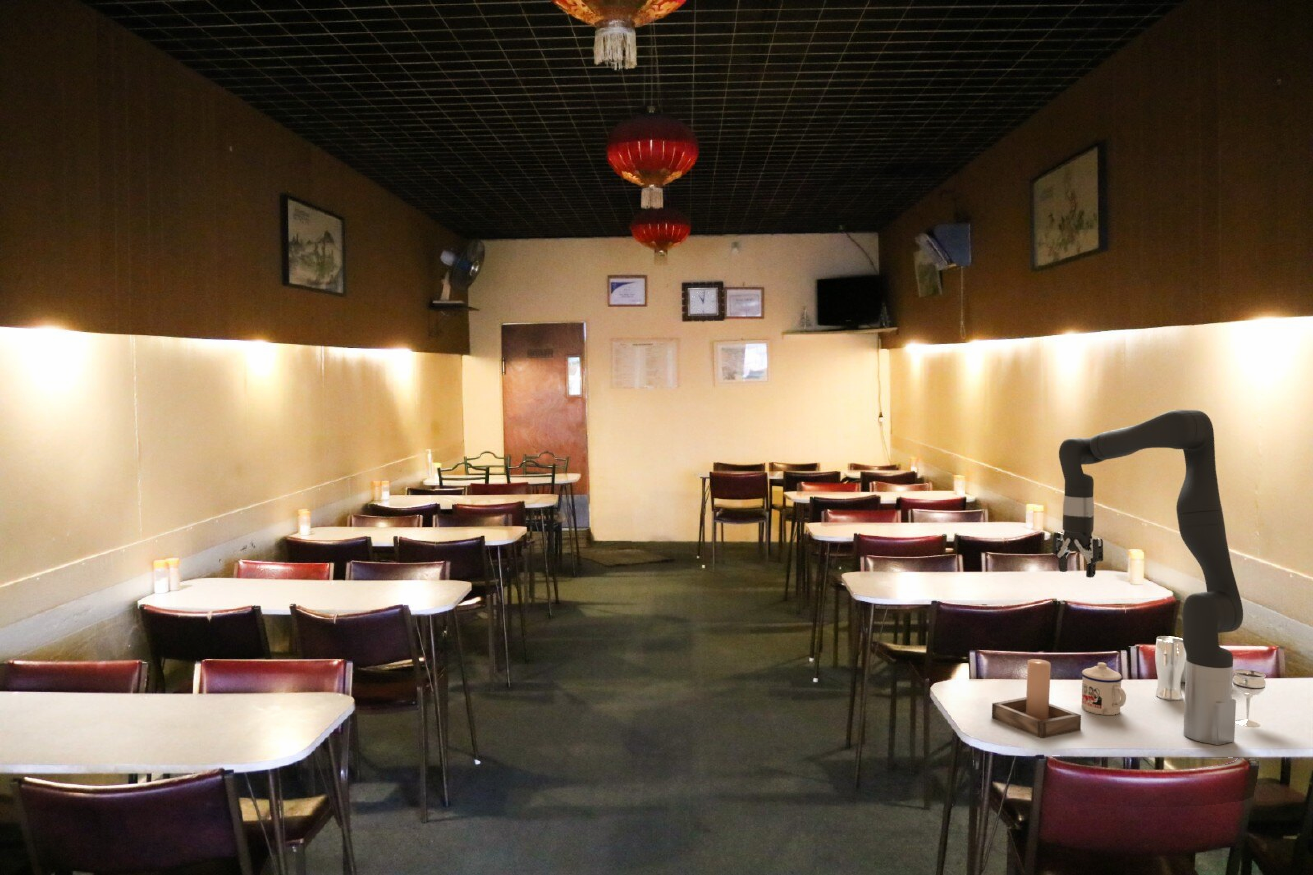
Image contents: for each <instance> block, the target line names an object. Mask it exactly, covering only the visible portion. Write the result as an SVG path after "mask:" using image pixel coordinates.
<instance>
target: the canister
mask: <svg viewBox="0 0 1313 875" xmlns="http://www.w3.org/2000/svg"><path fill="white" fill-rule="evenodd" d="M1051 664H1052V663H1051V662H1049V660H1044V659H1041V658H1040V659H1039V658H1038V659H1037V658H1032V659H1028V660H1027V673H1026V674H1027V675H1026V696H1025V697H1026V715H1029V716H1032V717H1034V718H1037V719H1039V720H1047V719H1048V716H1049V704H1050V688H1051Z"/></svg>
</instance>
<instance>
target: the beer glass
mask: <svg viewBox="0 0 1313 875" xmlns="http://www.w3.org/2000/svg"><path fill="white" fill-rule="evenodd" d="M1154 660H1155V669H1156V674H1157V688H1156V691H1155V696H1156V697H1157V696H1158V697H1157V698H1159V699H1162V700H1166V701H1167V700H1168V701H1173V700H1178V701H1182V699H1183V694H1182V682H1181V681H1182V676H1183V672H1184V668H1185V662H1186V651H1185V648H1184V645H1183V638H1181V637H1175V636H1169V635H1168V636H1166V635H1163V636H1162V635H1160V636H1157V637H1156V642H1155V652H1154Z"/></svg>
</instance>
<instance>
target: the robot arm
mask: <svg viewBox="0 0 1313 875" xmlns="http://www.w3.org/2000/svg"><path fill="white" fill-rule="evenodd" d="M1159 448H1162V449H1166V448H1167V449H1173V450H1182V451H1183V455H1184V456H1183V457H1184V463H1185V476H1184V480H1183V482H1182V486H1181V488H1180V491H1179V494H1178V498H1177V501H1176V509H1175V510H1176V516H1177V522H1178V523H1177V524H1178V529H1179V534H1180V537H1181V540H1182V541H1183V543H1184V545H1185V546H1186V547H1187V549H1188V550H1189V551H1190V553H1191V554H1192V556H1193V557H1194V559H1195V560H1196V561H1197V562H1198V565H1199V566H1200V568H1201V571H1202V574H1203V576H1204V581H1205V586H1206V591H1202V592H1194V593H1191V594H1190V595H1188V596H1187V597H1186V598H1185V600H1184V603H1183V607H1182V616H1181V617H1182V618H1181V619H1182V620H1181V621H1182V622H1181V623H1182V639H1183V645H1184V648H1185V651H1186V678H1185V684H1184V685H1185V686H1184V704H1183V708H1184V709H1183V735H1184V736H1185V737H1187V738H1189V739H1191V740H1193V741H1196V742H1197V741H1198V742H1200V743H1205V744H1212V745H1215V746H1220V745H1224V744H1230V743H1233V742H1235V738H1236V737H1235V736H1236V735H1235V732H1236V722H1235V721H1236V713H1237V712H1236V710H1237V709H1236V708H1237V707H1236V705H1237V702H1236V699H1234V698H1232V697H1233V695H1232V694H1233V680H1232V679H1233V676H1234V672H1233V669H1234V655H1233V652H1232V651H1230V650H1229V649H1226V648H1224V647H1221V646H1220V642H1219V634H1221V633H1222V634H1224V633H1231V632H1235V631H1237V630H1238V629H1239V628H1241V626H1242V624H1243V619H1244V608H1243V603H1242V599H1241V594H1240V592H1239V591H1240V590H1239V589H1238V585H1237V581H1236V577H1235V574H1234V569H1233V565H1232V561H1231V554H1230V550H1229V546H1228V540H1227V532H1226V524H1225V518H1224V513H1223V512H1224V511H1223V507H1222V503H1221V502H1222V501H1221V497H1220V490H1219V484H1218V476H1217V475H1218V474H1217V468H1216V467H1217V466H1216V450H1215V432H1214V426H1213V422H1212V419H1210V417H1209V416H1208V414H1206V413H1205V412H1204V411H1202V410H1197V409H1172V410H1168V411H1166V412H1163V413H1161V414H1159V415H1157V416H1153V417H1152V418H1150V419H1148V420H1145V421H1143V422H1140V423H1137V424H1134V425H1131V426H1126V427H1122V428H1117V429H1113V430H1107V431H1104V432H1100V433H1097V434H1095V435H1093V437H1070V438H1069V437H1068V438H1066V439H1064V440H1063V441H1062V443H1061V444H1060V446H1059V449H1058V459H1059V463H1060V467H1061V471H1062V475H1063V479H1064V496H1063V502H1062V530H1063V531H1055V532H1053V536H1052V550H1051V553H1052V554H1053V555H1056V556H1057V557H1058V569H1059V572H1060V573H1061V572H1062V573H1066V572H1068V565H1069V564H1068V562H1069V560H1068V559H1069V558H1068V556H1069V555H1070V553H1072V552H1076V553H1080V554H1081V556H1083V557H1084V558H1085V560H1086V562H1087V563H1086V568H1085V576H1086V578H1089V579H1090V578H1095V576H1096V573H1097V572H1096V568H1097V567H1096V566H1097V563H1101V562H1103V561H1104V540H1103V538H1099V537H1098V538H1093V535H1092V533H1093V532H1094V526H1095V525H1094V523H1095V520H1094V519H1095V500H1094V488H1095V484H1094V483H1095V482H1094V478H1093V476H1092V475H1091V474H1088V473H1084V470H1083V467H1082V465H1083V466H1084V465H1094V464H1099V463H1101V462H1104V461H1106V460H1112V459H1118V458H1122V457H1126V456H1129V455H1132V454H1135V453H1136V452H1139V451H1141V450H1146V449H1159ZM1063 542H1064V543H1063Z"/></svg>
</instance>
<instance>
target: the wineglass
mask: <svg viewBox="0 0 1313 875" xmlns="http://www.w3.org/2000/svg"><path fill="white" fill-rule="evenodd" d="M1266 676H1267V675H1266V674H1265V673H1263V672H1261V671H1258V670H1257V671H1256V670H1253V669H1244V668H1243V669H1242V668H1239V669H1234V670H1233V677H1232V686H1233V687H1234V688H1235V689H1237V691H1238V692H1239V693H1241V694H1243V695H1244V696H1245V698H1246V718H1245V719H1244V718H1243V719H1235V724H1239V725H1241V726H1244V727H1250V728H1256V727H1259V726H1261V724H1259V723H1258V722H1256V721H1253V720H1251V719H1250V718H1249V716H1250V708H1251V706H1250V705H1251V698H1253V696H1256V695H1259V694H1261V693H1262V692H1264V690H1265V688H1266V685H1267V683H1266V680H1265V678H1266Z"/></svg>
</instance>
